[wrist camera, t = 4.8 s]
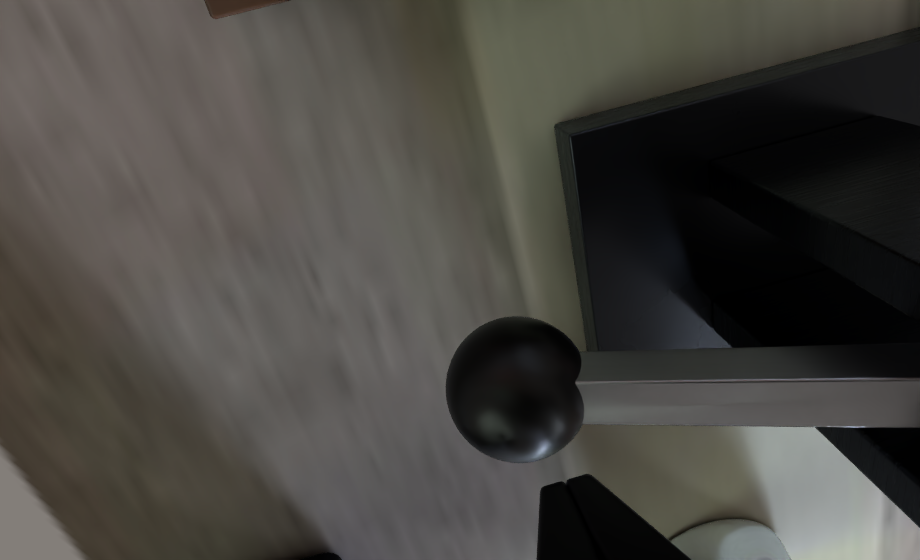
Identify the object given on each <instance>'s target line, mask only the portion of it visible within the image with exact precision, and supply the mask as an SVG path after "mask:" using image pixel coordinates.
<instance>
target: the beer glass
mask: <svg viewBox="0 0 920 560" xmlns="http://www.w3.org/2000/svg"><path fill="white" fill-rule="evenodd" d="M670 542H671V543H673V544H674V545H675V546H676V547H677V548H679V549H680V550H681V551H682V552H683V553H684V554H686V555H687V556H688V557H689V558H690V559H692V560H792V559H791V558H790V556H789V554H788V552H787V550H786V548H785V546H784V545H783V543H782V542H781V540H780V539H779V537H778V536H777V535H776V534H775V533H774V532H773V531H772V530H771V529H769V528H768V527H767V526H765V525H763V524H761V523H758V522H755V521H751V520H745V519H724V520H718V521H713V522H709V523H705V524H702V525H699V526H697V527H694V528H692V529H690V530H688V531H685V532H684V533H682V534H680V535H678V536H677V537H675V538H673V539H672V540H670Z"/></svg>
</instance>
